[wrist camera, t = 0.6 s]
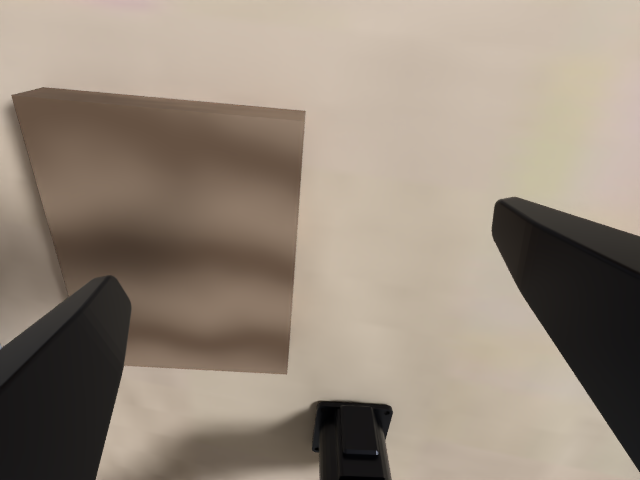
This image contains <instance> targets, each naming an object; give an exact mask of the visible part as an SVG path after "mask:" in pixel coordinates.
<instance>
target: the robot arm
mask: <svg viewBox="0 0 640 480" xmlns="http://www.w3.org/2000/svg"><path fill="white" fill-rule="evenodd" d="M492 236H493V239H494V241H495V243H496V245H497V247H498V249H499V251H500V253H501V255H502V257H503V259H504V261H505V263H506V265H507V267H508V269H509V271H510V273H511V275H512V277H513V279H514V281H515V283H516V285H517V287H518V289H519V290H520V292H521V294H522V295H523V297H524V298H525V300H526V301H527V303H528V305H529V306H530V308H531V309H532V311H533V312H534V314H535V315H536V317H537V318H538V320H539V321H540V323H541V324H542V326H543V327H544V329H545V330H546V332H547V333H548V335H549V336H550V338H551V339H552V341H553V342H554V344H555V345H556V347H557V348H558V350H559V351H560V353H561V354H562V356H563V357H564V359H565V360H566V362H567V363H568V365H569V366H570V368H571V369H572V371H573V372H574V374H575V375H576V377H577V378H578V380H579V381H580V383H581V384H582V386H583V387H584V389H585V390H586V392H587V393H588V395H589V397H590V398H591V400H592V401H593V403H594V404H595V406H596V407H597V409H598V410H599V412H600V413H601V415H602V416H603V418H604V419H605V421H606V422H607V424H608V425H609V427H610V428H611V430H612V431H613V433H614V434H615V436H616V437H617V439H618V440H619V442H620V443H621V445H622V446H623V448H624V449H625V451H626V452H627V454H628V455H629V457H630V458H631V460H632V461H633V463H634V464H635V466H636V467H637V469H638V470H639V472H640V236H637V235H634V234H631V233H627V232H624V231H621V230H618V229H615V228H612V227H609V226H606V225H602V224H599V223H596V222H593V221H590V220H587V219H584V218H581V217H577V216H574V215H571V214H568V213H565V212H562V211H559V210H555V209H552V208H549V207H546V206H543V205H540V204H537V203H534V202H530V201H527V200H524V199H521V198H518V197H510V198H505V199H500V200H498V201H497V202H496V203H495V207H494V214H493V222H492ZM131 310H132V307H131V302H130V299H129V297H128V296H127V294H126V292H125V291H124V289H123V288H122V286H121V284H120V283H119V281H118V280H117V278H116V277H114V276H112V275H107V276H102V277H96V278H94V279H92V280H91V281H89V282H88V283H87V284H85V285H84V286H83V287H81V288H80V289H79V290H77V291H76V292H75V293H73V294H72V295H71V296H70V297H68V298H67V299H66V300H64V301H63V302H62V303H60V304H59V305H58V306H56V307H55V308H54V309H53V310H51V311H50V312H49V313H47V314H46V315H45V316H43V317H42V318H41V319H39V320H38V321H37V322H35V323H34V324H33V325H32V326H30V327H29V328H28V329H26V330H25V331H24V332H22V333H21V334H20V335H18V336H17V337H16V338H15V339H13V340H12V341H11V342H9V343H8V344H7V345H5V346H4V347H3V348H1V349H0V480H96V476H97V472H98V468H99V464H100V460H101V456H102V452H103V448H104V444H105V440H106V436H107V432H108V428H109V424H110V420H111V416H112V412H113V408H114V404H115V400H116V396H117V392H118V388H119V384H120V381H121V376H122V372H123V368H124V362H125V356H126V348H127V341H128V333H129V325H130V318H131ZM392 414H393V411H392V407H391V406H388V405H372V404H352V403H332V402H321V403H319V404H318V405H317V411H316V419H315V426H314V434H313V442H312V450H313V451H314V452H319V476H320V480H392V479H391V473H390V467H389V461H388V455H387V449H386V443H385V439H386V436H387V432H388V429H389V425H390V421H391V418H392Z"/></svg>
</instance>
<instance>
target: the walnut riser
mask: <svg viewBox="0 0 640 480" xmlns="http://www.w3.org/2000/svg"><path fill="white" fill-rule="evenodd" d="M11 96H12V99H13V103H14V106H15V110H16V113H17V117H18V120H19V124H20V127H21V131H22V134H23V138H24V141H25V145H26V148H27V152H28V155H29V159H30V162H31V166H32V169H33V173H34V176H35V180H36V183H37V187H38V190H39V194H40V197H41V201H42V204H43V208H44V211H45V215H46V218H47V222H48V225H49V229H50V232H51V236H52V239H53V243H54V246H55V250H56V253H57V257H58V260H59V264H60V267H61V271H62V275H63V278H64V282H65V285H66V289H67V292H68V296H69V297H70V296H71V295H72V294H73V293H75V292H76V291H77V290H79V289H80V288H81V287H83V286H84V285H85V284H87V283H88V282H89V281H91V280H92V279H94V278H96V277H102V276H107V275H112V276H114V277H116V278H117V280H118V281H119V283H120V284H121V286H122V288H123V289H124V291H125V292H126V294H127V296H128V297H129V299H130V302H131V307H132V310H131V318H130V325H129V333H128V341H127V348H126V356H125V362H124V366H140V367H159V368H177V369H196V370H215V371H233V372H252V373H271V374H287V367H288V355H289V341H290V326H291V312H292V298H293V283H294V269H295V254H296V240H297V225H298V211H299V196H300V182H301V168H302V153H303V139H304V124H305V111H299V110H288V109H277V108H266V107H255V106H244V105H233V104H222V103H210V102H199V101H188V100H177V99H166V98H155V97H144V96H133V95H122V94H111V93H100V92H89V91H78V90H67V89H56V88H45V87H43V88H39V89H35V90H31V91H27V92H23V93H19V94H14V95H11Z"/></svg>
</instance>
